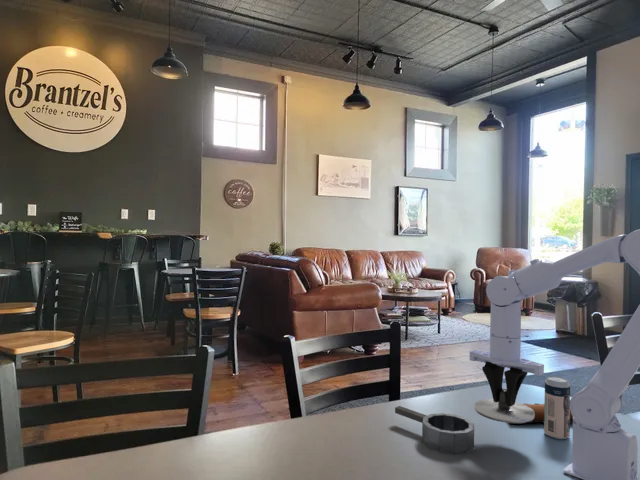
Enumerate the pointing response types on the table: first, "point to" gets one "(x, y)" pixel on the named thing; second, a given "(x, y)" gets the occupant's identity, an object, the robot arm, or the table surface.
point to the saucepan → (443, 431)
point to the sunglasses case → (540, 413)
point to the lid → (504, 410)
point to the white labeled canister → (557, 408)
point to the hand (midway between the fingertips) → (504, 403)
